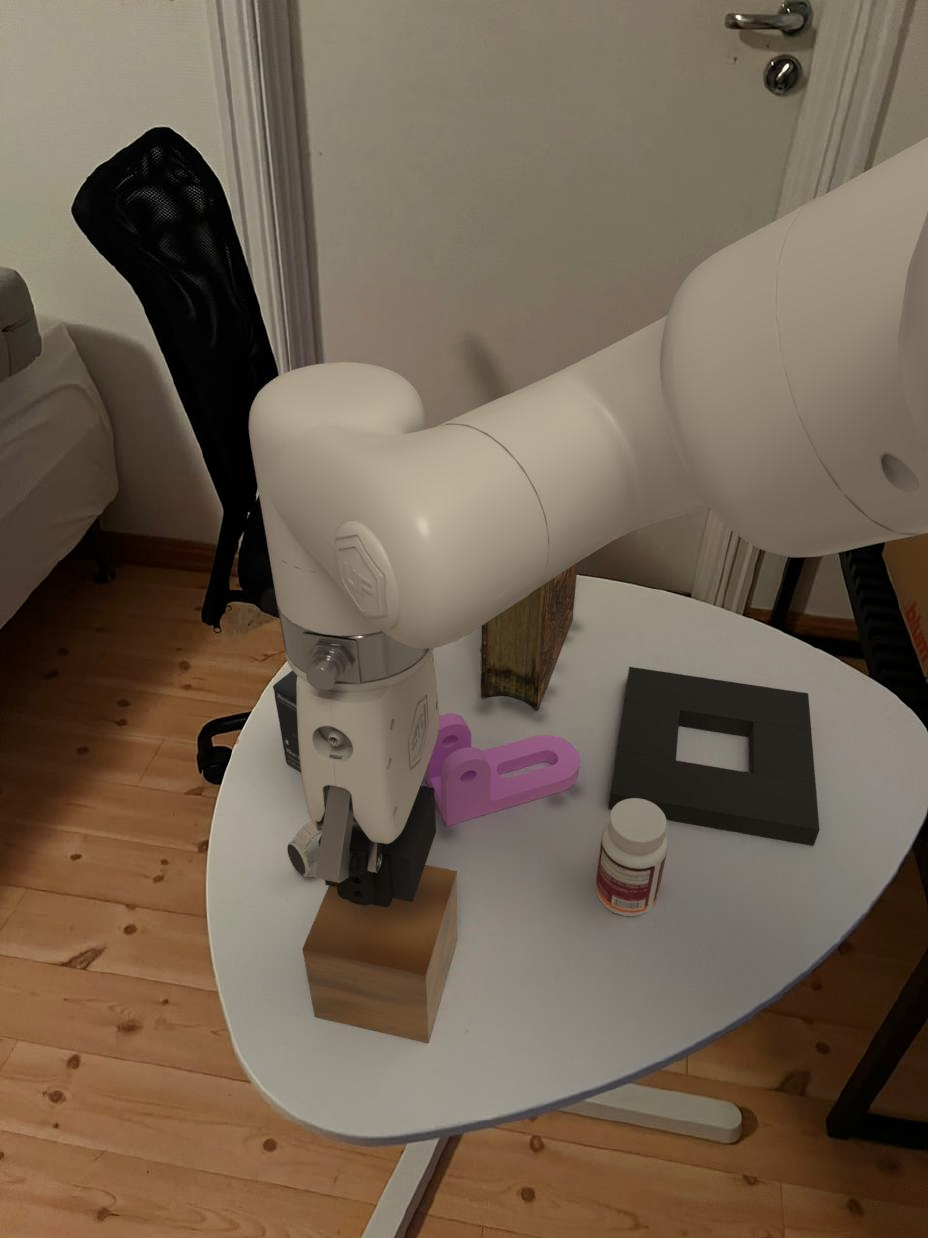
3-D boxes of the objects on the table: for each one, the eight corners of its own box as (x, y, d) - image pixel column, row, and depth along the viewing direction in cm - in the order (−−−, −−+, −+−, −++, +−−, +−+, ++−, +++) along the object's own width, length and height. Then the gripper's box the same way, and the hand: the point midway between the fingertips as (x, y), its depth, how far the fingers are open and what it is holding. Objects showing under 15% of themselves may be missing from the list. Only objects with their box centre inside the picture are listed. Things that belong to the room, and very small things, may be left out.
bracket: (447, 826, 76) (446, 766, 72) (424, 778, 80) (422, 719, 76) (589, 783, 80) (596, 724, 76) (561, 739, 84) (566, 681, 80)
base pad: (813, 846, 74) (819, 829, 73) (608, 809, 77) (610, 793, 76) (803, 709, 87) (808, 693, 86) (627, 682, 90) (629, 666, 89)
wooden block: (428, 1044, 62) (425, 976, 57) (314, 1017, 63) (301, 949, 58) (457, 939, 68) (456, 870, 63) (352, 918, 69) (344, 848, 64)
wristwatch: (289, 871, 73) (281, 829, 69) (342, 838, 75) (337, 796, 72) (309, 895, 71) (302, 853, 68) (363, 860, 73) (359, 818, 70)
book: (525, 603, 100) (536, 383, 85) (575, 613, 99) (595, 391, 84) (480, 702, 88) (484, 465, 72) (536, 715, 86) (552, 476, 71)
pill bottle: (623, 856, 74) (635, 783, 69) (670, 894, 71) (686, 822, 66) (581, 888, 71) (590, 815, 66) (628, 930, 68) (641, 857, 63)
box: (283, 765, 81) (269, 684, 76) (326, 729, 85) (316, 648, 79) (364, 814, 77) (356, 731, 71) (406, 773, 81) (402, 692, 75)
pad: (412, 902, 54) (409, 858, 52) (325, 885, 55) (318, 841, 53) (436, 831, 58) (434, 787, 56) (354, 817, 60) (349, 773, 57)
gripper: (377, 753, 39) (401, 997, 50) (471, 538, 52) (473, 767, 63) (211, 726, 40) (269, 968, 51) (343, 524, 53) (367, 750, 64)
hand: (381, 855), depth 57 cm, fingers closed on pad, 5 cm apart
